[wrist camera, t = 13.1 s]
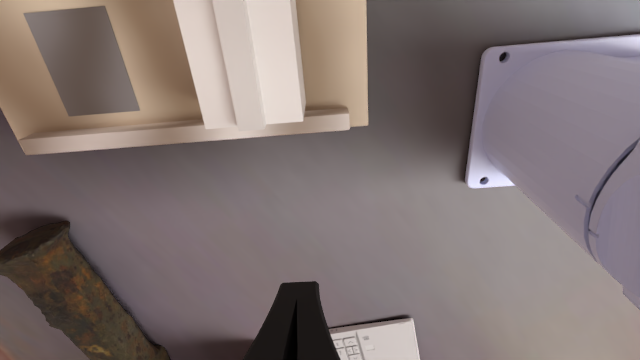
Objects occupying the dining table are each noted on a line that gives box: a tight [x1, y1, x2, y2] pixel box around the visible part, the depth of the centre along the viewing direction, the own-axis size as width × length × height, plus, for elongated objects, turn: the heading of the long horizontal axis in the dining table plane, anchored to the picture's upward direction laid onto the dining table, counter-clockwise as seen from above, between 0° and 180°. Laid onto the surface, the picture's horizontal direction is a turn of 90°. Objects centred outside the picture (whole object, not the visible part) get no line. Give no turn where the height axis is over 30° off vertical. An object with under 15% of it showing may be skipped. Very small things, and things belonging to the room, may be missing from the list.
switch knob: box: [173, 0, 306, 131], centre depth 14 cm, size 4×5×4 cm
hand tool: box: [0, 221, 170, 360], centre depth 25 cm, size 19×4×5 cm, turn 14°
